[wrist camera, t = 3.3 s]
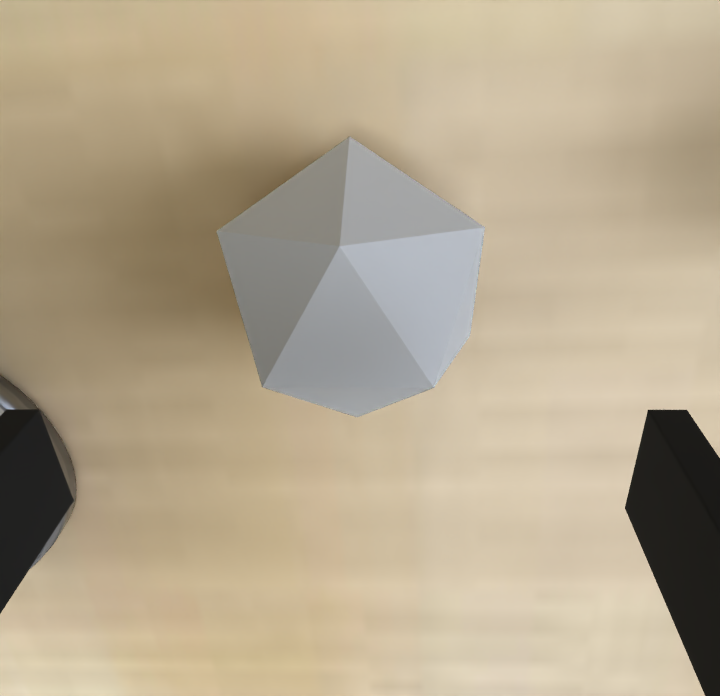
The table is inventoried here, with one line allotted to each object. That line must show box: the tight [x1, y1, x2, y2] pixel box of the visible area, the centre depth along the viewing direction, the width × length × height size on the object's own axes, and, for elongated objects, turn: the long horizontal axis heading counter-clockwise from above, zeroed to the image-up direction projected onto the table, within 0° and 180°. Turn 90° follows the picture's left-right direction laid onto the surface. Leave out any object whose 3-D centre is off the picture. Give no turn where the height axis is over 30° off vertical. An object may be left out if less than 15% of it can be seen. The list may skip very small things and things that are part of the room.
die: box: [217, 137, 485, 417], centre depth 21 cm, size 8×9×10 cm
